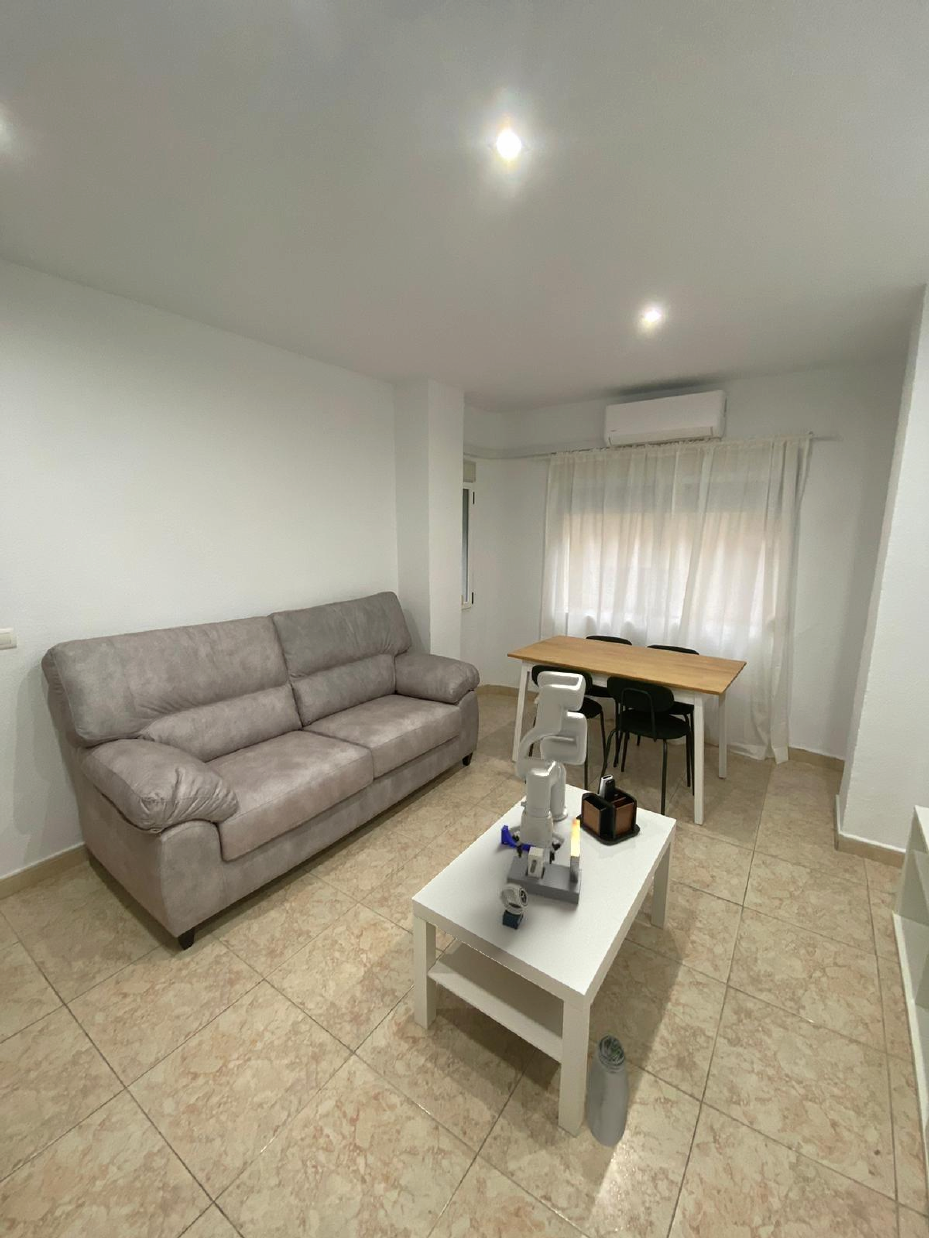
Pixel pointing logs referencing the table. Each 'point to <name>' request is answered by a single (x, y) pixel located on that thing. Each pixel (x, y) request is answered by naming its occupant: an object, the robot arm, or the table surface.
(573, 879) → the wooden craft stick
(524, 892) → the watch
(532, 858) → the white upright block
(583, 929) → the table surface
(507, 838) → the blue cradle stand
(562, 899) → the socket block
